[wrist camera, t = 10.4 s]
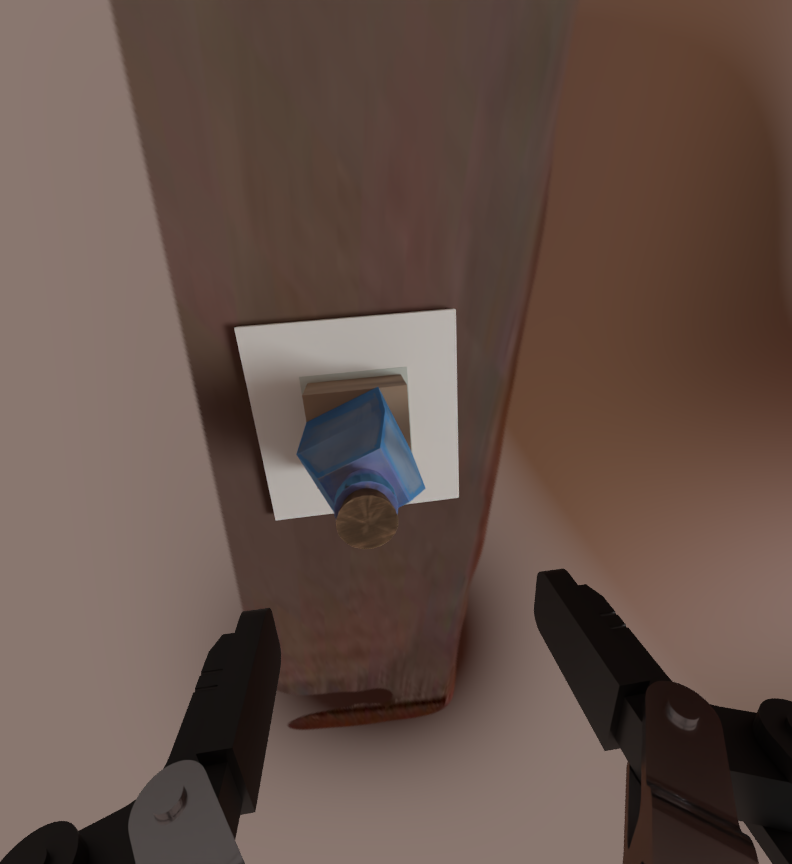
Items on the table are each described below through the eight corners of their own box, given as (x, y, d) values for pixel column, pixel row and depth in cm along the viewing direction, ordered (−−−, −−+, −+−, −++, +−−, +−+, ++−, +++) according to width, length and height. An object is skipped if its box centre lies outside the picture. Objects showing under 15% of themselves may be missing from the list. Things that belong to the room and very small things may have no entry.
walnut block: (307, 383, 33) (302, 395, 29) (400, 374, 33) (407, 384, 30) (320, 467, 35) (317, 489, 32) (406, 458, 36) (413, 477, 32)
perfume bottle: (344, 484, 32) (342, 590, 21) (306, 422, 30) (280, 502, 19) (411, 452, 32) (446, 541, 20) (378, 386, 29) (396, 446, 18)
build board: (238, 326, 32) (233, 327, 30) (452, 308, 33) (455, 309, 32) (277, 513, 38) (275, 520, 37) (455, 491, 40) (459, 498, 38)
